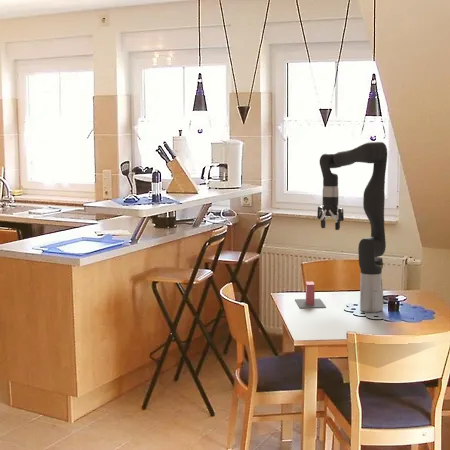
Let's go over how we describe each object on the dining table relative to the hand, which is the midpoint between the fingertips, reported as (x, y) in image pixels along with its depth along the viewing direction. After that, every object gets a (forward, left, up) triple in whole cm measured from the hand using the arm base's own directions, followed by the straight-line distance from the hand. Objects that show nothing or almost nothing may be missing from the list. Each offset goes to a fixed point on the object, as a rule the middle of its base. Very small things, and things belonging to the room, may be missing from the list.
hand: (330, 229), depth 367 cm
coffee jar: (-12, -18, -33) cm, 40 cm away
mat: (-3, +18, -33) cm, 38 cm away
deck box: (-3, +18, -33) cm, 37 cm away
